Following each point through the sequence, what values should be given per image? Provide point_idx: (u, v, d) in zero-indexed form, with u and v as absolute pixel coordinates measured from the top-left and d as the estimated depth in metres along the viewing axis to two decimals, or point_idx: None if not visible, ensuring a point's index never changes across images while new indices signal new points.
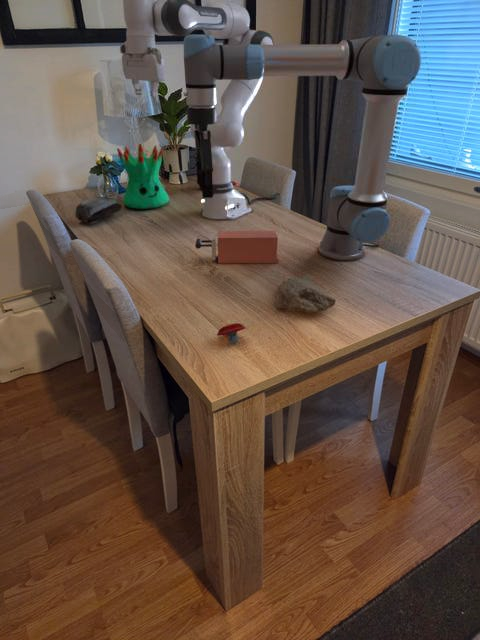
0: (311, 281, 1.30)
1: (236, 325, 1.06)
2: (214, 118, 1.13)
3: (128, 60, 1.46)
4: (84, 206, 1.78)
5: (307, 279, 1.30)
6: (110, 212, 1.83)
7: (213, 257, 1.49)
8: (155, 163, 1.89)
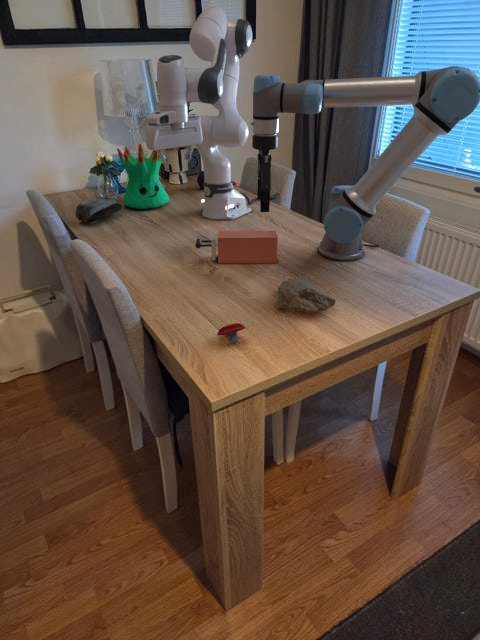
0: (311, 281, 1.30)
1: (236, 325, 1.06)
2: (275, 144, 1.31)
3: (162, 130, 1.36)
4: (84, 206, 1.78)
5: (307, 279, 1.30)
6: (110, 212, 1.83)
7: (213, 257, 1.49)
8: (155, 163, 1.89)
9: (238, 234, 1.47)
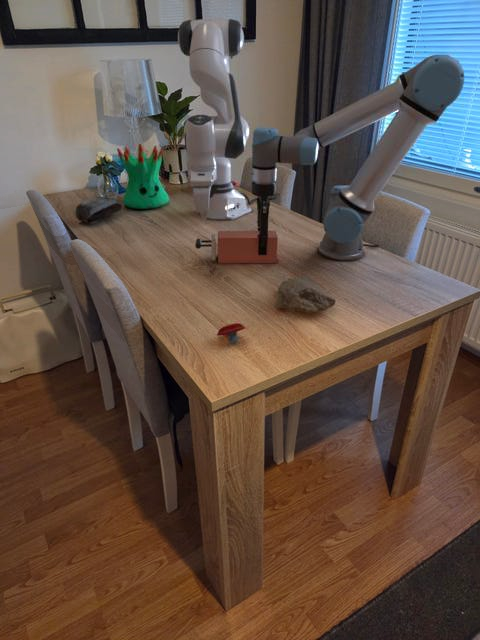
0: (311, 281, 1.30)
1: (236, 325, 1.06)
2: (273, 191, 1.38)
3: None
4: (84, 206, 1.78)
5: (307, 279, 1.30)
6: (110, 212, 1.83)
7: (213, 257, 1.49)
8: (155, 163, 1.89)
9: (238, 234, 1.47)
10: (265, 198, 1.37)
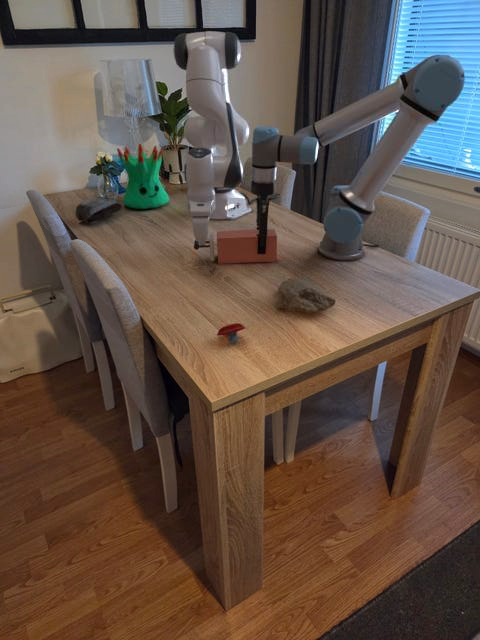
0: (311, 281, 1.30)
1: (236, 325, 1.06)
2: (273, 190, 1.38)
3: None
4: (84, 206, 1.78)
5: (307, 279, 1.30)
6: (110, 212, 1.83)
7: (212, 258, 1.48)
8: (155, 163, 1.89)
9: (237, 234, 1.47)
10: (265, 197, 1.37)
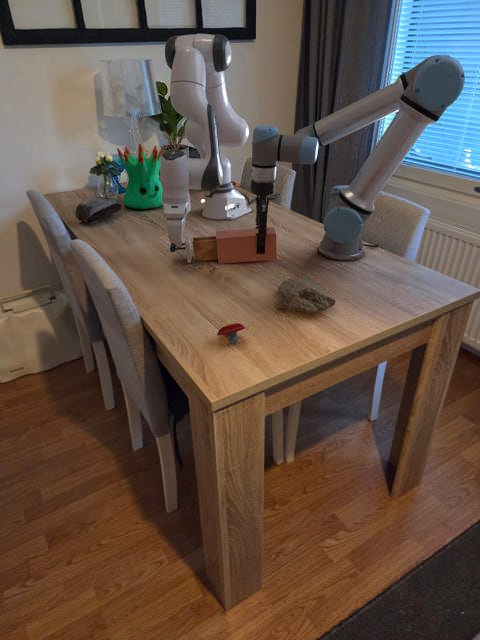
0: (311, 281, 1.30)
1: (236, 325, 1.06)
2: (272, 190, 1.38)
3: None
4: (84, 206, 1.78)
5: (307, 279, 1.30)
6: (110, 212, 1.83)
7: (188, 260, 1.48)
8: (155, 163, 1.89)
9: (236, 233, 1.47)
10: (264, 197, 1.37)
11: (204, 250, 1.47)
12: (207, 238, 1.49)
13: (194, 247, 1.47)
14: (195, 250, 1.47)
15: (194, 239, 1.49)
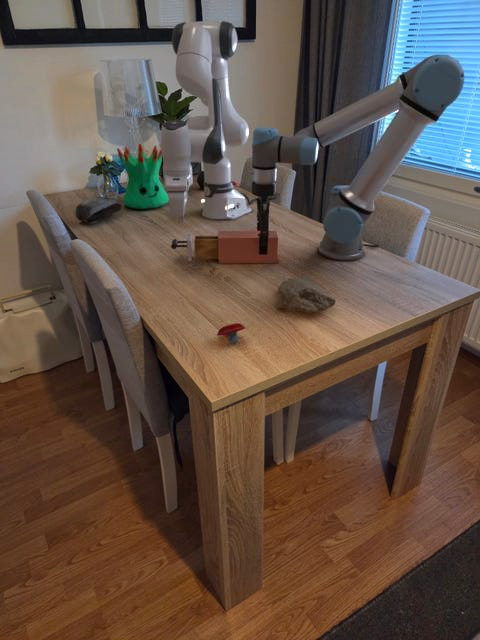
0: (311, 281, 1.30)
1: (236, 325, 1.06)
2: (273, 191, 1.38)
3: None
4: (84, 206, 1.78)
5: (307, 279, 1.30)
6: (110, 212, 1.83)
7: (189, 258, 1.48)
8: (155, 163, 1.89)
9: (238, 234, 1.47)
10: (265, 198, 1.37)
11: (205, 249, 1.47)
12: (209, 237, 1.49)
13: (196, 245, 1.47)
14: (196, 248, 1.47)
15: (196, 237, 1.48)
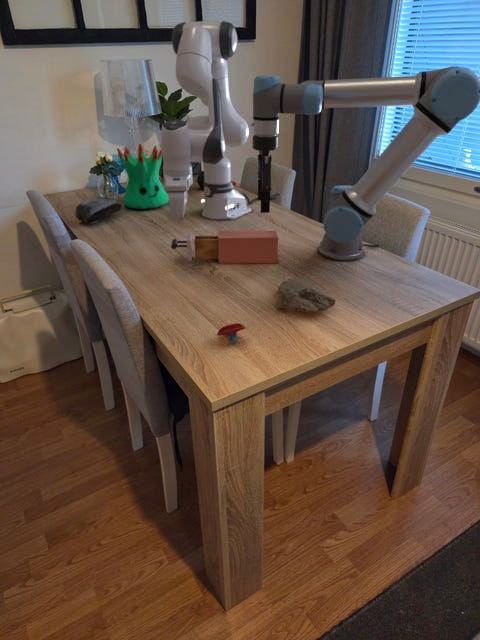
0: (311, 281, 1.30)
1: (236, 325, 1.06)
2: (275, 145, 1.31)
3: None
4: (84, 206, 1.78)
5: (307, 279, 1.30)
6: (110, 212, 1.83)
7: (189, 258, 1.48)
8: (155, 163, 1.89)
9: (238, 234, 1.47)
10: (267, 152, 1.30)
11: (205, 249, 1.47)
12: (209, 237, 1.49)
13: (196, 245, 1.47)
14: (196, 248, 1.47)
15: (196, 237, 1.48)
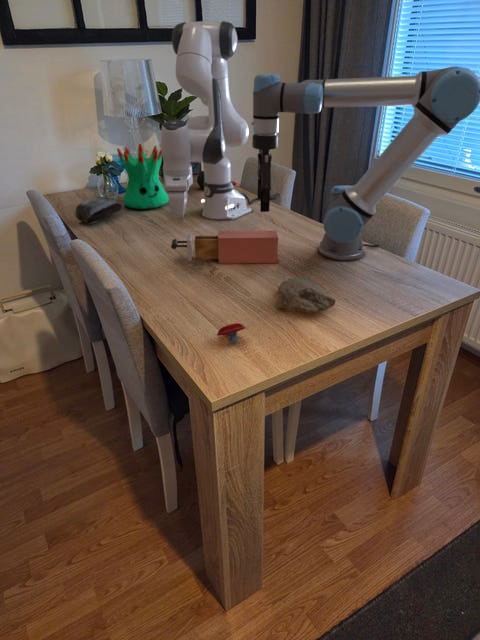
0: (311, 281, 1.30)
1: (236, 325, 1.06)
2: (275, 144, 1.31)
3: None
4: (84, 206, 1.78)
5: (307, 279, 1.30)
6: (110, 212, 1.83)
7: (189, 258, 1.48)
8: (155, 163, 1.89)
9: (238, 234, 1.47)
10: (267, 151, 1.30)
11: (205, 249, 1.47)
12: (209, 237, 1.49)
13: (196, 245, 1.47)
14: (196, 248, 1.47)
15: (196, 237, 1.48)
